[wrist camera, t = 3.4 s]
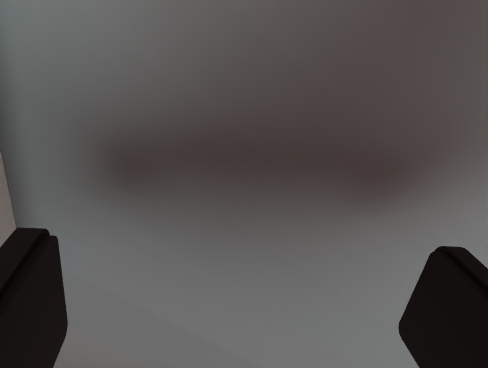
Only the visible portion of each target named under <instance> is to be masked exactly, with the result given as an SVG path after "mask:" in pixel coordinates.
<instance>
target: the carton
mask: <svg viewBox="0 0 488 368" xmlns="http://www.w3.org/2000/svg"><path fill="white" fill-rule="evenodd" d="M15 229H16V225H15V220H14V215H13V210H12V205H11V200H10V195H9V190H8V186H7V181H6V176H5V171H4V166H3V161H2V156H1V151H0V247H1V246H2V245H3V243H4V242H5V241H6V240H7V239H8V237H9V236H10V235H11V234H12V233H13V231H14V230H15Z"/></svg>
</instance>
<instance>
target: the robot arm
mask: <svg viewBox="0 0 488 368" xmlns="http://www.w3.org/2000/svg"><path fill="white" fill-rule="evenodd" d="M67 325H68V321H67V312H66V304H65V295H64V287H63V279H62V270H61V262H60V253H59V245H58V239H57V237H56V236H50V234H49V231H48V230H47V229H39V228H17V229H15V230H14V231H13V233H12V234H11V235H10V236H9V237H8V239H7V240H6V241H5V242H4V243H3V245H2V246H1V247H0V368H53V366H54V364H55V361H56V359H57V357H58V354H59V352H60V349H61V347H62V344H63V342H64V339H65V336H66V332H67ZM399 334H400V336H401V338H402V340H403V342H404V343H405V345H406V347H407V348H408V350H409V351H410V353H411V355H412V356H413V358H414V360H415V361H416V363H417V365H418V366H419V368H488V268H486V267H485V266H484V265H483V264H482V263H481V262H480V261H479V260H478V259H477V258H475V257H474V256H473V255H472V254H471V253H470V252H469V251H468V250H466V249H465V248H462V247H450V246H441V247H438V248H437V249H436V250H435V251H434V252H432V253H431V254H430V256H429V258H428V260H427V262H426V264H425V267H424V269H423V271H422V273H421V275H420V278H419V280H418V282H417V284H416V287H415V289H414V291H413V293H412V295H411V298H410V300H409V302H408V304H407V307H406V309H405V311H404V313H403V316H402V318H401V320H400V322H399Z"/></svg>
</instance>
